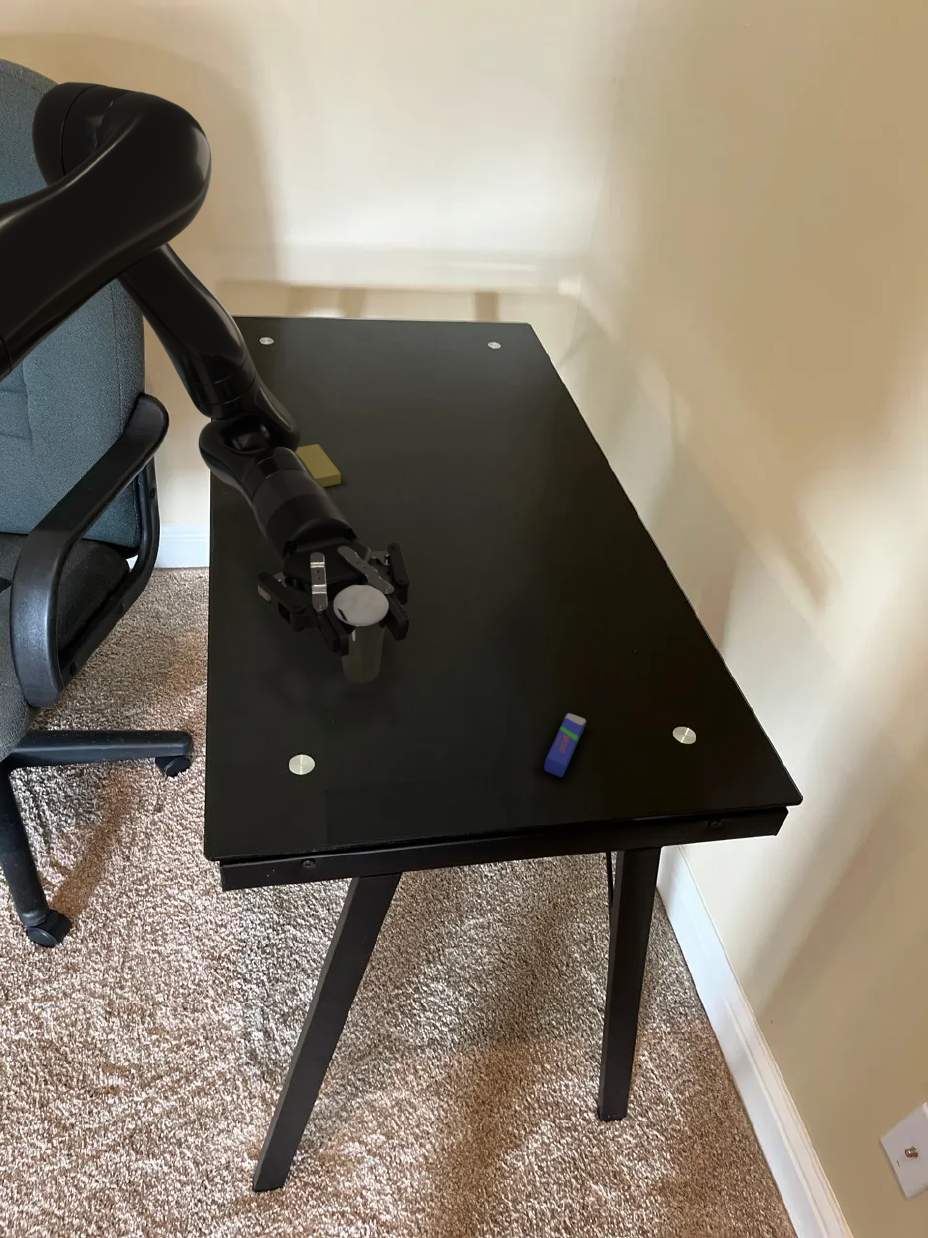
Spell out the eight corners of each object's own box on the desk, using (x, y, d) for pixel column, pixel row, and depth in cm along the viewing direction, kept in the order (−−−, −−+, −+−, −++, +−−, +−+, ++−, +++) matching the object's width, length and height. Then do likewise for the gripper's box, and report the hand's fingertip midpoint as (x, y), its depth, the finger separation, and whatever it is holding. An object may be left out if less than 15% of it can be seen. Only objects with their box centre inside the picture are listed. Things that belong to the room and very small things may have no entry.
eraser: (583, 733, 77) (587, 719, 75) (562, 779, 72) (566, 765, 71) (563, 725, 77) (567, 711, 76) (541, 771, 73) (545, 756, 71)
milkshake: (320, 681, 73) (315, 598, 66) (354, 645, 77) (353, 562, 70) (363, 703, 72) (363, 620, 65) (396, 665, 75) (399, 582, 68)
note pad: (282, 495, 100) (282, 485, 99) (261, 464, 105) (261, 453, 104) (341, 483, 103) (341, 473, 102) (318, 453, 108) (318, 443, 107)
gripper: (224, 506, 73) (289, 628, 63) (373, 479, 79) (455, 586, 69) (231, 572, 78) (292, 695, 68) (370, 541, 84) (446, 650, 74)
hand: (374, 639), depth 68 cm, fingers closed on milkshake, 4 cm apart
